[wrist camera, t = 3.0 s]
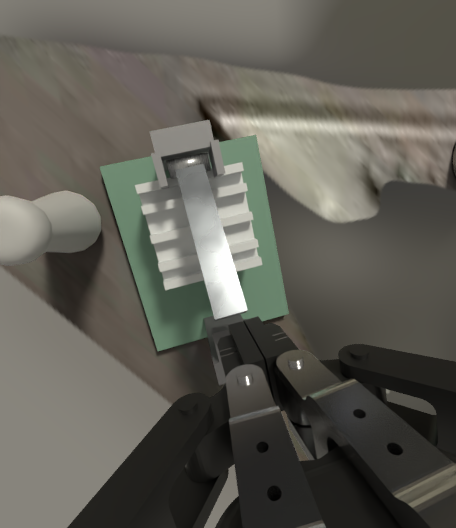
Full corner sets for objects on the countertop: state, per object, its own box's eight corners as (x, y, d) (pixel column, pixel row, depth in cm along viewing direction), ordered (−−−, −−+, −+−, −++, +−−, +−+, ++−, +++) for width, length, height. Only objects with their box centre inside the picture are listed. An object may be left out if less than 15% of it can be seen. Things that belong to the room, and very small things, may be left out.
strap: (206, 160, 23) (206, 148, 21) (252, 310, 19) (255, 307, 18) (168, 168, 22) (164, 156, 21) (207, 323, 19) (206, 321, 17)
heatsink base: (252, 135, 30) (284, 103, 21) (285, 310, 35) (322, 347, 26) (102, 166, 28) (64, 146, 19) (158, 346, 33) (150, 400, 24)
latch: (232, 288, 31) (254, 321, 22) (240, 324, 33) (265, 371, 23) (198, 297, 31) (205, 335, 22) (207, 333, 32) (219, 385, 23)
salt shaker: (35, 205, 28) (-85, 204, 15) (89, 183, 28) (16, 164, 16) (66, 257, 29) (-20, 296, 17) (117, 235, 30) (71, 257, 17)
